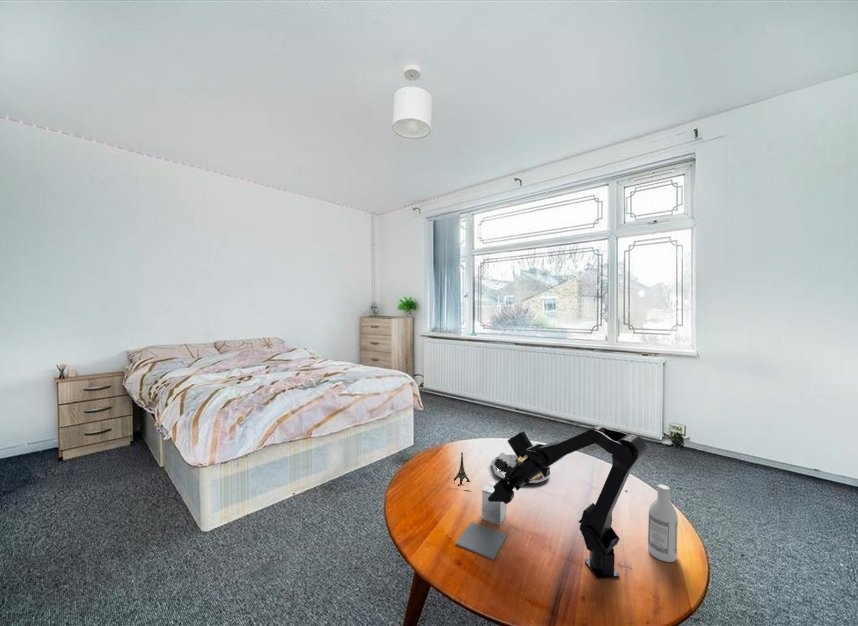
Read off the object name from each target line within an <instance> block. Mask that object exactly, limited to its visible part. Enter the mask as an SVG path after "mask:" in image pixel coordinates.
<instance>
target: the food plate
mask: <svg viewBox="0 0 858 626" xmlns="http://www.w3.org/2000/svg"><path fill="white" fill-rule="evenodd" d="M506 455H507V456H508V457H510V458H511V459H512V460H513V461H514V462H520V461H521V462H522V461H523V460H525V459H526V458H527V456H526V457H524V458H521V457H519V458H518V457H517V456H516V454H506ZM497 458H498V456H495V458H494V459H492V460H491V462H490V464H491V467H492V470H493V474H494V475H495V476H497V477H499V478H500V479H504V477H505V476H504V474H502V473H501V472H500V470H499V472H498V471H497V470H498V469H497V467H496V466H495V465H494V463H495V461H496V459H497ZM549 477H550V475H549V476H547V477H544V476H543V474H542V473H540V474H538V475H537V476H535V477H534V478H532V479H531V480H530V482H529V483H528V484H532V483H533V484H534V483H535V484H537V483H541V482H543V481H546V480H547V479H548V478H549Z"/></svg>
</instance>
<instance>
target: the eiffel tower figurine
mask: <svg viewBox="0 0 858 626" xmlns="http://www.w3.org/2000/svg"><path fill="white" fill-rule="evenodd" d="M458 469H459V470H458V473H457V472H456V475H455V477H454V478H453V479H454V481H455V480H456V479H457V478H460V485H462V486H464V485H463V484H462V481H463V479H464V478H466V479H467V481H466V482H470V483H471V482H472V481H470V479H469V477H468V476H467V474H466V471H465V466H464V452H461V455H460V465H459V468H458ZM454 484H455V483H454ZM460 485H459V486H460Z"/></svg>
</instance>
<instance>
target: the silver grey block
mask: <svg viewBox="0 0 858 626" xmlns="http://www.w3.org/2000/svg"><path fill="white" fill-rule="evenodd" d="M495 484H496V483H495V482H492V481H488V482H487V484H486V485H485V486H484V487H483V488H482V490H481V492H482V493H481V494H482V495H481V520H483V521H487V522H489V523H492V524H495V525H498V526H501V525H502V523H503V521H505V519H506V517H507V505H508V504H505V503H504V502H489V500H488V498H489V496H490V495H491V494H492V493H493V492H494V491H495V490H494V487H493V486H494V485H495Z"/></svg>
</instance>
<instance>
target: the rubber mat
mask: <svg viewBox="0 0 858 626" xmlns="http://www.w3.org/2000/svg"><path fill="white" fill-rule="evenodd" d="M507 537H508V534H507V533H505V532H501V531H499V530H497V529H493V528H490V527H488V526H486V525H485V526H484V525H482V524H479V523H476V522H473V521H471V522H470V523H469V525H468V526H467V527H466V529H465V530H464V532H463V533H462V534H461V535H460V537H459V538H458V539H457V540H456V542H455V545H456V546H458V547H461V548H463V549H464V550H465V549H466V550H468V551H471V552H472V553H475V554H478V555H480V556H482V557H486V558H487V559H490V560H493V561H494V560H495V559H496V557H497V555H498V554H499V552H500V550H501V548H502V546H503V544H504V542H505V541H506V539H507Z"/></svg>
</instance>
